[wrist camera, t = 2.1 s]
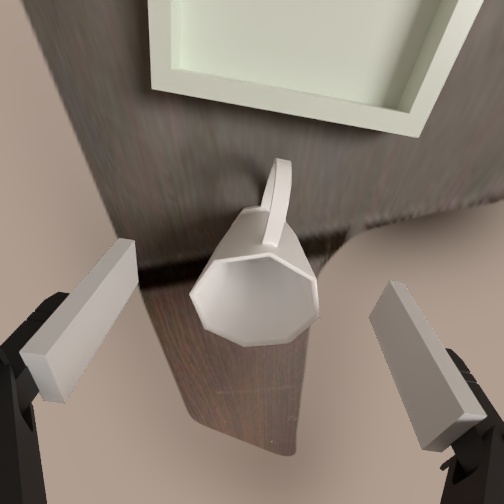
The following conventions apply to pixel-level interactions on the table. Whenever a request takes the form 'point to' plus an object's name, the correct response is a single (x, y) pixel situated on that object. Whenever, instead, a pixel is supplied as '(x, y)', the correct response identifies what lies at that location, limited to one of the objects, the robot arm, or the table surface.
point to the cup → (259, 274)
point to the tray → (312, 55)
